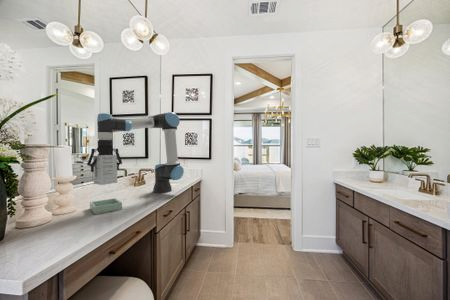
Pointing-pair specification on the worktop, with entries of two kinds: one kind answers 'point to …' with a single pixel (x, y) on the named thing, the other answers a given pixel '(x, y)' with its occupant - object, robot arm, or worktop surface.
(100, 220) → the worktop surface
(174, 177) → the robot arm
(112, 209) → the tray
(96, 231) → the worktop surface
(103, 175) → the supplement box
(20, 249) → the worktop surface
